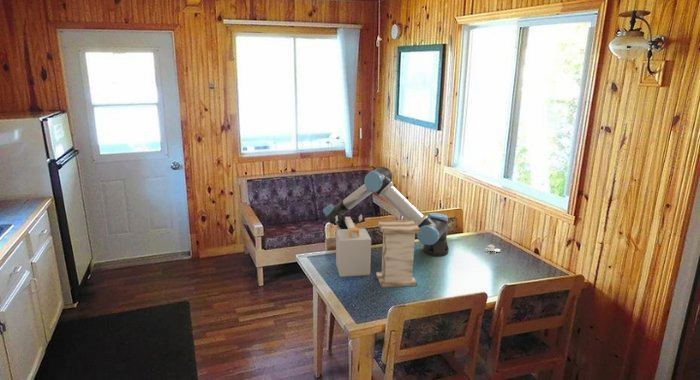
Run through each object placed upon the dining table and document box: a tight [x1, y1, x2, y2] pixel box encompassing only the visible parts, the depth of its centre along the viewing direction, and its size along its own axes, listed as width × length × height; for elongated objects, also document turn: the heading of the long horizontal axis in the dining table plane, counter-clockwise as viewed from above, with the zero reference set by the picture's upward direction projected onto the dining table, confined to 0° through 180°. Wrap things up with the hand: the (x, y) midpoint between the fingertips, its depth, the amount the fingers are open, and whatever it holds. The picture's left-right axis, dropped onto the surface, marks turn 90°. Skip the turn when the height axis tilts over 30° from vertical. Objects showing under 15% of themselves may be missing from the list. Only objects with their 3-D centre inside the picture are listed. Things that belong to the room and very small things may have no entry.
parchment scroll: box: [375, 219, 421, 288], centre depth 227 cm, size 14×18×30 cm
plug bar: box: [344, 216, 360, 238], centre depth 244 cm, size 24×4×4 cm, turn 9°
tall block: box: [335, 227, 372, 277], centre depth 240 cm, size 16×16×20 cm
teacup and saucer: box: [486, 244, 501, 253], centre depth 268 cm, size 9×8×4 cm
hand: (349, 217), depth 248 cm, fingers open, 13 cm apart
